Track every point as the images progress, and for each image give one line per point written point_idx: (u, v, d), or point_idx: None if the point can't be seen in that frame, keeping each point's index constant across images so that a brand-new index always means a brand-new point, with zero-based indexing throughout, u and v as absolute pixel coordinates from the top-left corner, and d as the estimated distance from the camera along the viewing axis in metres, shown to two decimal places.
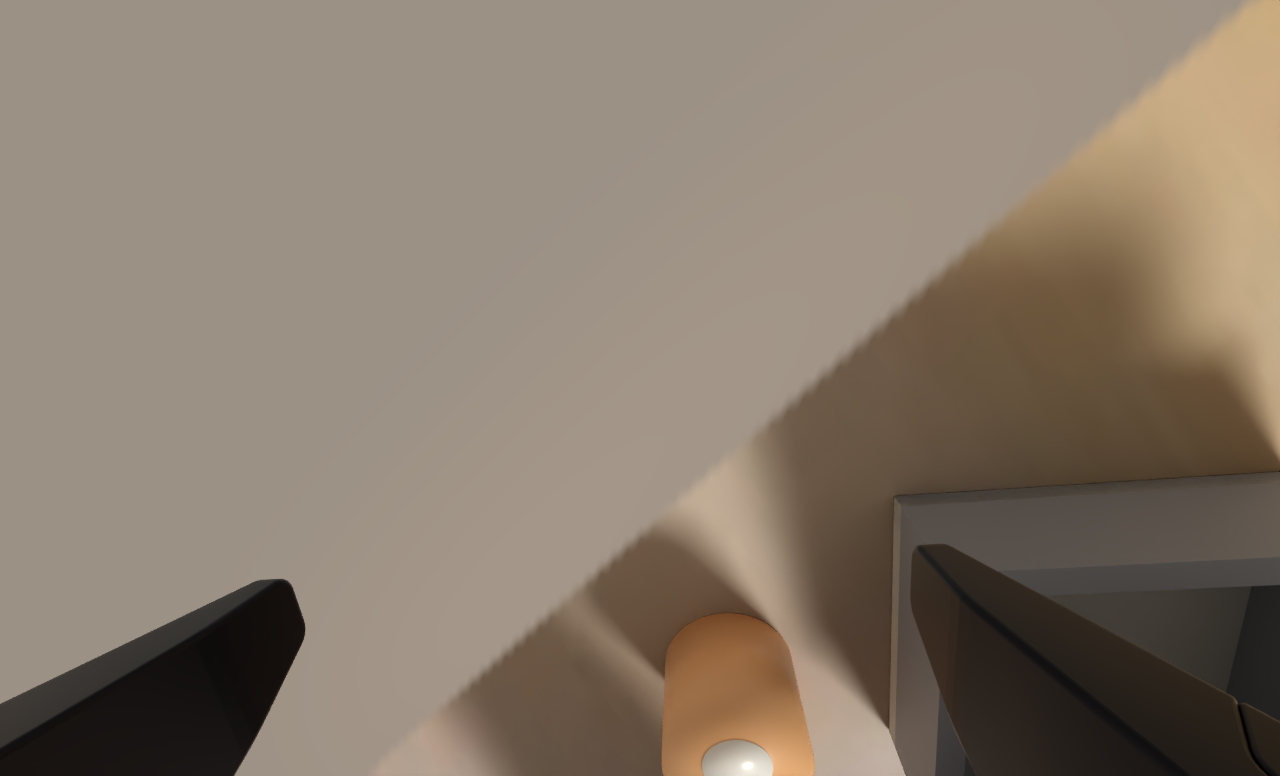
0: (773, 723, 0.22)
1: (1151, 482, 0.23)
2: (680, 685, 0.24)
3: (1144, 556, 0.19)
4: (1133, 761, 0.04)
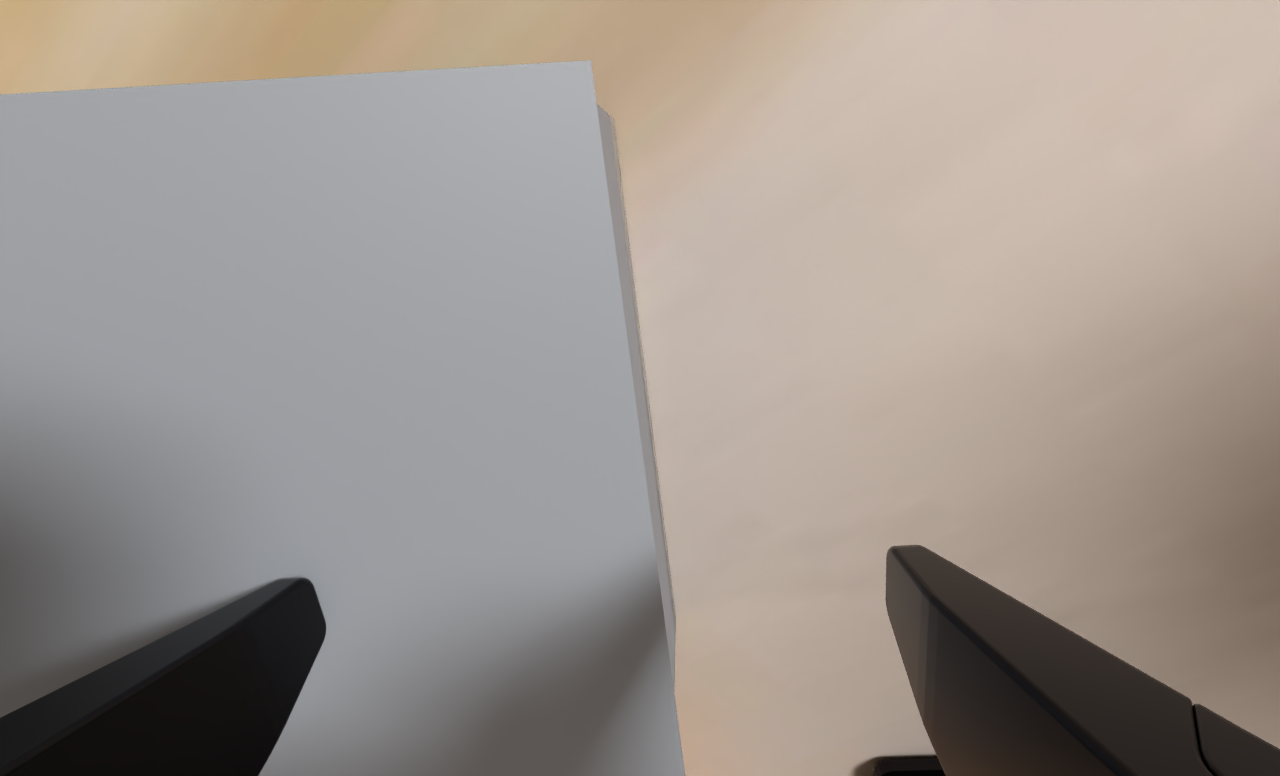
0: None
1: None
2: None
3: None
4: (1087, 762, 0.04)
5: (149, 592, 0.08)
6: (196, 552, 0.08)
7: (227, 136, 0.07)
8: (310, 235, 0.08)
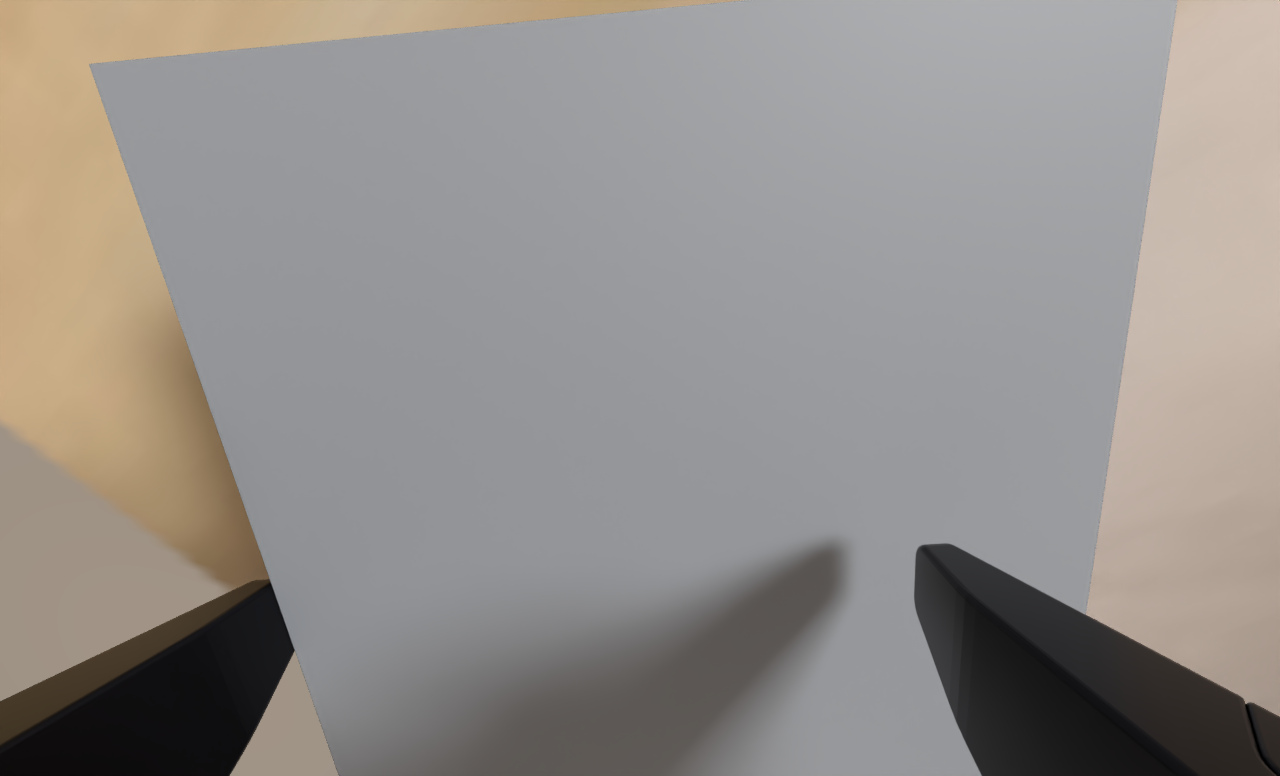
0: None
1: None
2: None
3: None
4: (1142, 761, 0.04)
5: (629, 506, 0.09)
6: (675, 474, 0.09)
7: (794, 53, 0.07)
8: (844, 162, 0.08)
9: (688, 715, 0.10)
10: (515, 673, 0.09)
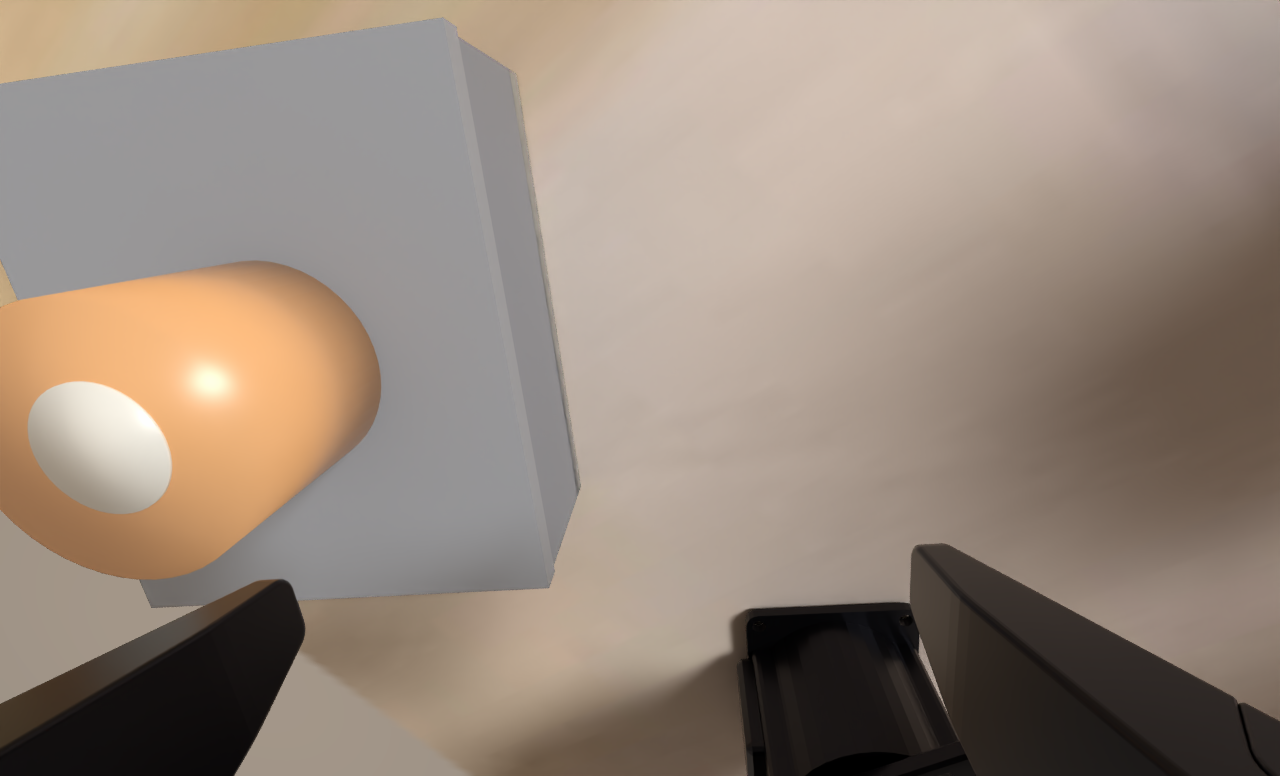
0: None
1: None
2: None
3: None
4: (1133, 761, 0.04)
5: None
6: None
7: (245, 78, 0.14)
8: (286, 135, 0.14)
9: None
10: None
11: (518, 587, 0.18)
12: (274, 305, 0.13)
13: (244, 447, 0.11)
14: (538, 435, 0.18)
